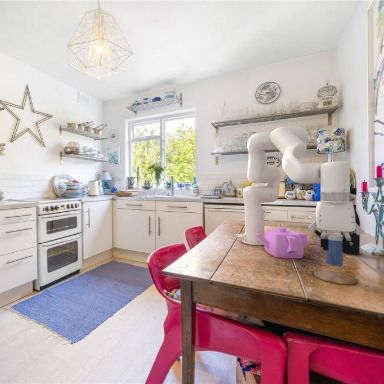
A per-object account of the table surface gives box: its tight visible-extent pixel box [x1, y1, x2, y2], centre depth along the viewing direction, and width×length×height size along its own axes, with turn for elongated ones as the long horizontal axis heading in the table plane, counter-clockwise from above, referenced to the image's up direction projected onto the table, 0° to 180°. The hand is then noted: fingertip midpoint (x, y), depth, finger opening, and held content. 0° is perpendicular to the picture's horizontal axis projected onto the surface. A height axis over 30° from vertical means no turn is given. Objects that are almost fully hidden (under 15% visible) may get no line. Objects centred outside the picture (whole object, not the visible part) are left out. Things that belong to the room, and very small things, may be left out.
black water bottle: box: [340, 187, 361, 256], centre depth 108 cm, size 6×6×30 cm
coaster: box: [313, 270, 357, 286], centre depth 81 cm, size 11×11×1 cm
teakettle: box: [257, 226, 309, 260], centre depth 109 cm, size 17×17×12 cm
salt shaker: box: [325, 233, 344, 267], centre depth 81 cm, size 5×5×10 cm
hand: (334, 250), depth 81 cm, fingers closed on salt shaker, 4 cm apart
